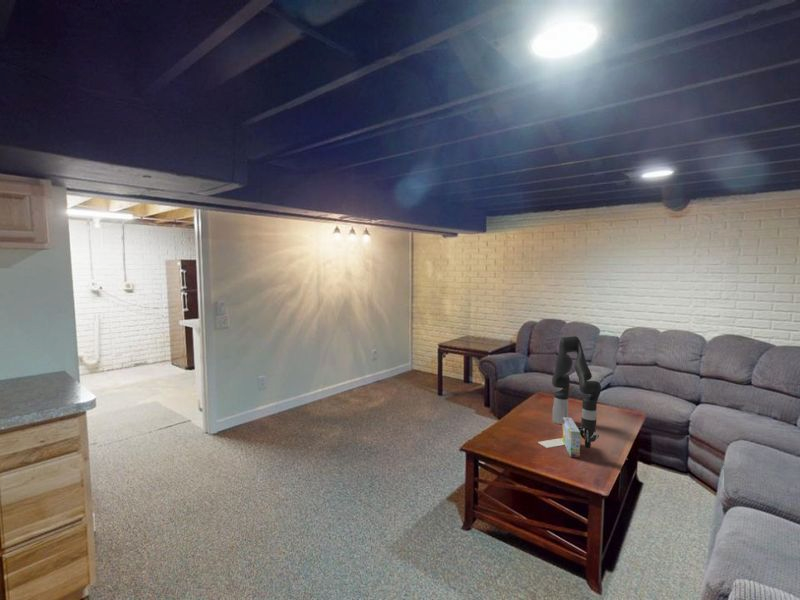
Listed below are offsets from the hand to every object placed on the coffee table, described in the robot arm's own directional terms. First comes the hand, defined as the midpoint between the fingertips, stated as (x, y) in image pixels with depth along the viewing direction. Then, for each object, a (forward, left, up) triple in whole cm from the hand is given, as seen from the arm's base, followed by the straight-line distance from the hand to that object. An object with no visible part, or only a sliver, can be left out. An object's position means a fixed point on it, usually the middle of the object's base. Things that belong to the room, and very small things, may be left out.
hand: (587, 447), depth 219 cm
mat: (-22, 0, -6) cm, 23 cm away
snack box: (-12, 0, -6) cm, 13 cm away
